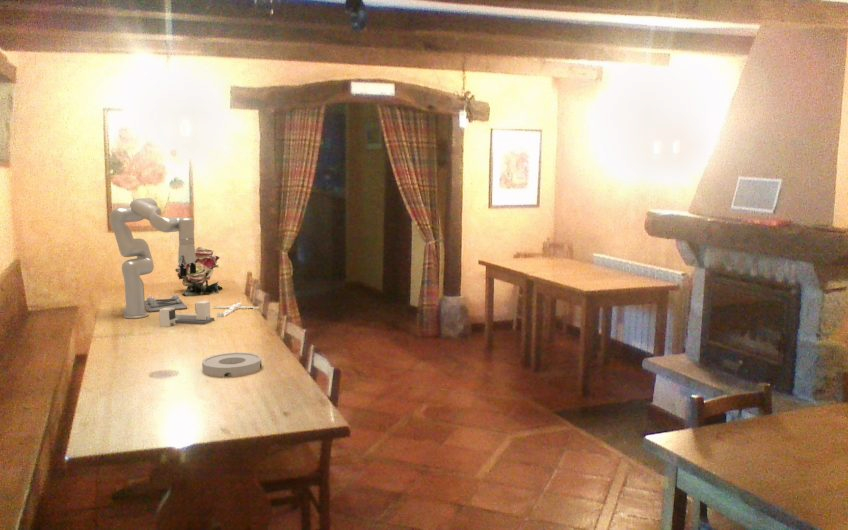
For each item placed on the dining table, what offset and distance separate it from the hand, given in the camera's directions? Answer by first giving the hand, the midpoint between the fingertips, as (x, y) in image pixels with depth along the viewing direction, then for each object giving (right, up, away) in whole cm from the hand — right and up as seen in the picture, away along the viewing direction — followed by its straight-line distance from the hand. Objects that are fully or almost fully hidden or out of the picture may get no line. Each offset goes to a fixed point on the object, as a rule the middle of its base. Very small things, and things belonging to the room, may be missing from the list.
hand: (188, 274), depth 375 cm
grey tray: (-30, -20, +48) cm, 60 cm away
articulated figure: (+14, -22, +31) cm, 41 cm away
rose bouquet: (-23, -14, +92) cm, 96 cm away
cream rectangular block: (-10, -26, -3) cm, 28 cm away
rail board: (-2, -25, +6) cm, 26 cm away
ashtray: (+45, -37, -83) cm, 102 cm away
